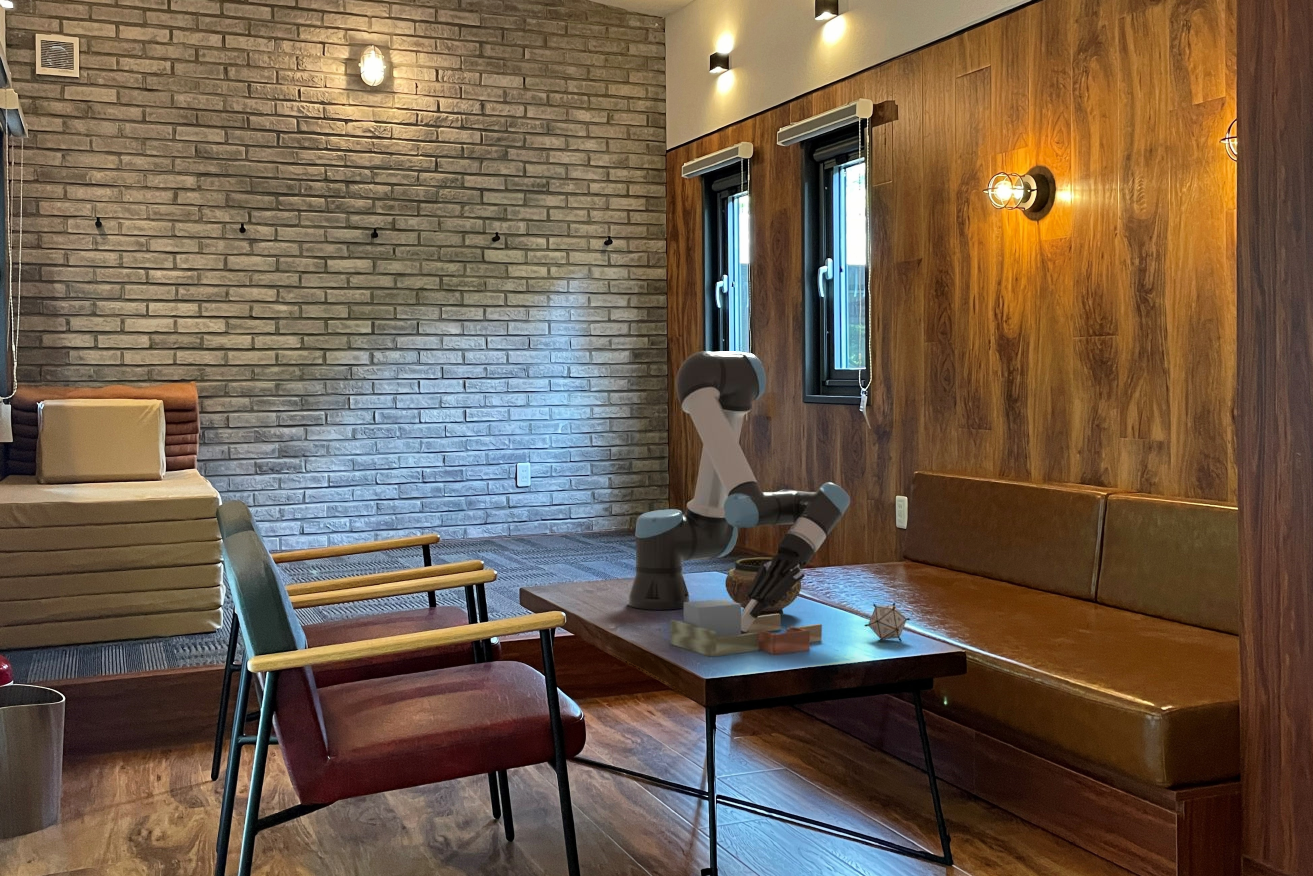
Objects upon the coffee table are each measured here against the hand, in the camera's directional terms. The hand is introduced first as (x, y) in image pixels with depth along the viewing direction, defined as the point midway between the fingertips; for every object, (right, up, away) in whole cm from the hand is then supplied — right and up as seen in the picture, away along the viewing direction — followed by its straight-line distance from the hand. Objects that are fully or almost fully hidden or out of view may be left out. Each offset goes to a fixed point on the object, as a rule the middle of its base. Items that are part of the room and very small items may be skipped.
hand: (740, 627), depth 259 cm
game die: (+32, -4, +3) cm, 32 cm away
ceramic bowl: (+8, -2, +33) cm, 34 cm away
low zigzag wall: (+2, -3, +2) cm, 4 cm away
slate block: (-6, -4, -2) cm, 7 cm away
